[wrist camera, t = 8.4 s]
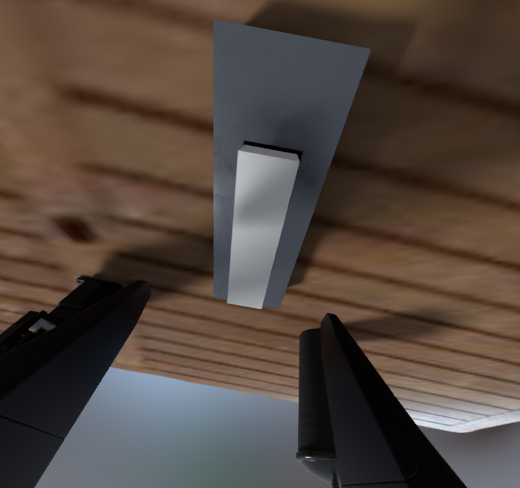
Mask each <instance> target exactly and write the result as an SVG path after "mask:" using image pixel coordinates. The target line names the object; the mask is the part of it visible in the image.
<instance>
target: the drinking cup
mask: <svg viewBox="0 0 520 488" xmlns="http://www.w3.org/2000/svg"><path fill="white" fill-rule="evenodd" d="M298 425H299V426H298V452H297V453H296V460H297V461H298V462H299V463H301V464H302V465H303V466H304V467H305V468H306V469H307V470H308V471H309V472H310V473H311V474H313V475H314V476H315V477H317V478H319V479H321V480H323V481H325V482H328V483H331V484H332V486H333V488H340V487H339V485H341V481H340V475H339V468H338V461H337V455H336V448H335V441H334V435H333V428H332V421H331V415H330V408H329V401H328V395H327V388H326V381H325V375H324V368H323V361H322V347H321V330H317V329H311V330H307V331H304V332H302V333H301V334H300V345H299V424H298Z"/></svg>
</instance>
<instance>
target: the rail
mask: <svg viewBox="0 0 520 488" xmlns="http://www.w3.org/2000/svg"><path fill="white" fill-rule="evenodd" d="M370 51H371V49H368V48H363V47H358V46H353V45H347V44H342V43H337V42H331V41H326V40H321V39H316V38H310V37H305V36H300V35H294V34H289V33H284V32H279V31H273V30H268V29H263V28H257V27H252V26H247V25H242V24H236V23H231V22H226V21H220V20H215V19H214V297H215V298H221V299H226V300H227V299H228V285H229V271H230V257H231V243H232V229H233V215H234V201H235V187H236V173H237V159H238V150H239V149H240V148H242V147H243V146H244V145H249V142H256V143H261V144H266V145H272V146H277V147H283V148H288V149H294V150H298V154H297V156H298V159H299V161H300V162H299V166H298V170H297V174H296V178H295V181H294V185H293V189H292V193H291V197H290V201H289V205H288V208H287V212H286V216H285V220H284V224H283V228H282V232H281V235H280V239H279V243H278V247H277V251H276V255H275V259H274V262H273V266H272V270H271V274H270V278H269V282H268V286H267V289H266V293H265V297H264V301H263V305H262V306H266V307H272V308H277V309H279V308H280V305H281V302H282V300H283V297H284V294H285V291H286V288H287V285H288V283H289V280H290V277H291V274H292V271H293V269H294V266H295V263H296V260H297V257H298V254H299V252H300V249H301V246H302V243H303V240H304V238H305V235H306V232H307V229H308V226H309V223H310V221H311V218H312V215H313V212H314V209H315V206H316V204H317V201H318V198H319V195H320V192H321V190H322V187H323V184H324V181H325V178H326V175H327V173H328V170H329V167H330V164H331V161H332V159H333V156H334V153H335V150H336V147H337V144H338V142H339V139H340V136H341V133H342V130H343V128H344V125H345V122H346V119H347V116H348V113H349V111H350V108H351V105H352V102H353V99H354V97H355V94H356V91H357V88H358V85H359V82H360V80H361V77H362V74H363V71H364V68H365V66H366V63H367V60H368V57H369V54H370Z"/></svg>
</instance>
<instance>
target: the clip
mask: <svg viewBox="0 0 520 488" xmlns="http://www.w3.org/2000/svg"><path fill="white" fill-rule="evenodd" d="M299 162H300V161H299V159H298V156H297V154H292V153H287V152H281V151H276V150H270V149H265V148H260V147H254V146H249V145H244V146H243V147H242V148H240V149H239V150H238V159H237V173H236V187H235V201H234V215H233V229H232V243H231V257H230V271H229V285H228V299H227V303H230V304H236V305H241V306H247V307H252V308H258V309H262V305H263V301H264V297H265V293H266V289H267V286H268V282H269V278H270V274H271V270H272V266H273V262H274V259H275V255H276V251H277V247H278V243H279V239H280V235H281V232H282V228H283V224H284V220H285V216H286V212H287V208H288V205H289V201H290V197H291V193H292V189H293V185H294V181H295V178H296V174H297V170H298V166H299Z"/></svg>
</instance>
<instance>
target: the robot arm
mask: <svg viewBox="0 0 520 488" xmlns="http://www.w3.org/2000/svg"><path fill="white" fill-rule="evenodd" d="M76 282H77V284H78V285H79V286H78V287H77V288H76V289H75V290H73V291H72V292H71V293H70V294H69V295H68V296H66V297H65V298H64V299H63V300H62V301H60V302H59V303H58V304H59V306H57V307H56V308H55V309H54V310H53V311H52V312H50V313H49V314H47V312H46V311H44V310H42V311H41V312H35V311H29V312H28V313H27V314H25V315H24V316H23V317H22V318H20V319H19V320H18V321H17V322H15V323H14V324H13V325H11V326H10V327H9V328H8V329H6V330H5V331H4V332H3V333H1V334H0V488H34V487H35V486H36V484H37V482H38V481H39V479H40V478H41V476H42V475H43V473H44V471H45V470H46V468H47V467H48V465H49V463H50V462H51V460H52V459H53V457H54V455H55V454H56V452H57V451H58V449H59V447H60V446H61V444H62V443H63V441H64V438H65V437H66V436H67V434H68V433H69V431H70V429H71V428H72V426H73V425H74V423H75V422H76V420H77V418H78V417H79V415H80V414H81V412H82V410H83V409H84V407H85V406H86V404H87V402H88V401H89V399H90V398H91V396H92V394H93V393H94V391H95V390H96V388H97V386H98V385H99V383H100V382H101V380H102V378H103V377H104V375H105V374H106V372H107V371H108V369H109V367H110V366H111V364H112V363H113V361H114V359H115V358H116V356H117V355H118V353H119V351H120V350H121V348H122V347H123V345H124V343H125V342H126V340H127V339H128V337H129V335H130V334H131V332H132V331H133V329H134V327H135V326H136V324H137V322H138V320H139V318H140V316H141V314H142V312H143V310H144V308H145V306H146V304H147V302H148V300H149V298H150V295H151V290H150V287H149V284H148V282H147V281H144V280H137V281H135V282H133V283H132V284H130V285H128V286H126V287H125V288H123V289H122V287H121V286H120V285H119V284H114V283H109V282H103V281H97V280H92V279H86V278H80V277H79V278H77V279H76ZM30 327H31V328H33V329H35V330H36V331H34V332H32V331H29V330H28V329H29V328H30ZM321 347H322V361H323V368H324V375H325V381H326V388H327V395H328V401H329V408H330V415H331V421H332V428H333V435H334V441H335V448H336V455H337V461H338V468H339V475H340V481H341V488H467V487H466V486H465V484H464V483H463V482H462V481H461V480H460V478H459V477H458V476H457V474H456V473H455V472H454V471H453V470H452V468H451V467H450V466H449V465H448V463H447V462H446V461H445V460H444V459H443V458H442V456H441V455H440V454H439V452H438V451H437V450H436V449H435V448H434V446H433V445H432V444H431V443H430V441H429V440H428V439H427V438H426V436H425V435H424V434H423V433H422V432H421V430H420V429H419V427H418V426H417V425H416V424H415V422H414V421H413V420H412V418H411V417H410V416H409V414H408V413H407V412H406V410H405V409H404V408H403V406H402V405H401V403H400V402H399V401H398V399H397V398H396V397H394V394H393V393H392V391H391V390H390V388H389V387H388V386H387V384H386V383H385V382H384V380H383V379H382V377H381V376H380V375H379V373H378V372H377V371H376V369H375V368H374V366H373V365H372V364H371V362H370V361H369V360H368V358H367V357H366V355H365V354H364V353H363V351H362V350H361V348H360V347H359V346H358V344H357V343H356V342H355V340H354V339H353V337H352V336H351V335H350V333H349V332H348V331H347V329H346V328H345V326H344V325H343V324H342V322H341V321H340V320H339V318H338V317H337V316H336V315H335V314H331V313H327V314H326V315H325V317H324V318H323V320H322V322H321Z"/></svg>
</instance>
